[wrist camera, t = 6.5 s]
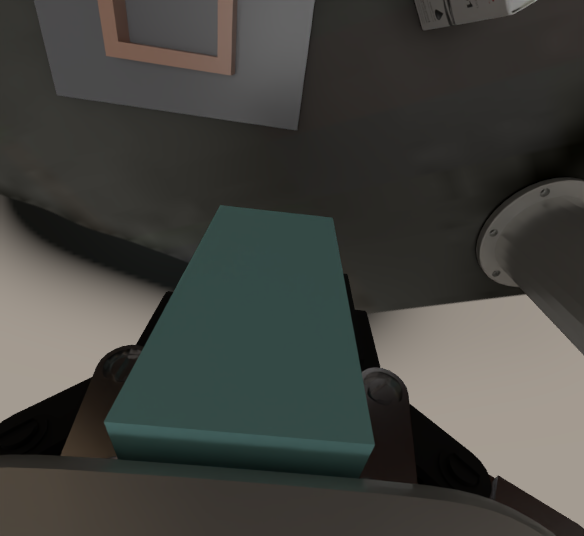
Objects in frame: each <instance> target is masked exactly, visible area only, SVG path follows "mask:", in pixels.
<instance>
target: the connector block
mask: <svg viewBox="0 0 584 536" xmlns="http://www.w3.org/2000/svg"><path fill="white" fill-rule="evenodd" d="M104 424H105V426H106V429H107V432H108V434H109V437H110V439H111V442H112V445H113V447H114V450H115V452H116V455H117V458H118V460H131V461H145V462H158V463H172V464H185V465H198V466H211V467H224V468H236V469H249V470H261V471H274V472H286V473H298V474H310V475H322V476H334V477H346V478H358V479H359V477H360V475H361V473H362V471H363V468H364V466H365V464H366V462H367V460H368V458H369V456H370V454H371V452H372V450H373V448H374V446H375V443H374V437H373V432H372V426H371V421H370V416H369V410H368V405H367V400H366V394H365V389H364V383H363V378H362V373H361V367H360V362H359V357H358V351H357V346H356V340H355V335H354V330H353V324H352V319H351V313H350V308H349V303H348V297H347V292H346V287H345V281H344V276H343V270H342V265H341V260H340V254H339V249H338V244H337V238H336V233H335V227H334V222H333V218H330V217H321V216H312V215H303V214H294V213H285V212H276V211H267V210H259V209H250V208H241V207H232V206H223V205H220V207H219V208H218V210H217V212H216V214H215V216H214V218H213V220H212V221H211V223H210V225H209V227H208V229H207V231H206V233H205V234H204V236H203V238H202V240H201V242H200V244H199V246H198V248H197V249H196V251H195V253H194V255H193V257H192V259H191V261H190V262H189V264H188V266H187V268H186V270H185V272H184V274H183V275H182V277H181V279H180V281H179V283H178V285H177V287H176V288H175V291H174V292H173V294H172V296H171V298H170V300H169V301H168V303H167V305H166V307H165V309H164V311H163V313H162V314H161V316H160V318H159V320H158V322H157V324H156V326H155V327H154V329H153V331H152V333H151V335H150V337H149V339H148V340H147V342H146V344H145V346H144V348H143V350H142V352H141V353H140V355H139V357H138V359H137V361H136V363H135V365H134V366H133V368H132V370H131V372H130V374H129V376H128V378H127V379H126V381H125V383H124V385H123V387H122V389H121V391H120V392H119V394H118V396H117V398H116V400H115V402H114V404H113V406H112V407H111V409H110V411H109V413H108V415H107V417H106V419H105V420H104Z"/></svg>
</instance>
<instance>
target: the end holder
mask: <svg viewBox="0 0 584 536" xmlns="http://www.w3.org/2000/svg"><path fill="white" fill-rule="evenodd" d="M34 2H35V7H36V11H37V15H38V19H39V23H40V27H41V31H42V35H43V40H44V44H45V48H46V52H47V56H48V60H49V64H50V69H51V73H52V77H53V81H54V85H55V89H56V93H57V95H59V96H66V97H73V98H80V99H87V100H93V101H100V102H107V103H114V104H121V105H127V106H134V107H141V108H148V109H154V110H161V111H168V112H175V113H182V114H188V115H195V116H202V117H209V118H216V119H222V120H229V121H236V122H243V123H249V124H256V125H263V126H270V127H277V128H283V129H290V130H297V127H298V120H299V113H300V105H301V98H302V91H303V83H304V76H305V69H306V61H307V54H308V47H309V39H310V32H311V25H312V17H313V10H314V3H315V0H34Z"/></svg>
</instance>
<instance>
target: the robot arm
mask: <svg viewBox="0 0 584 536" xmlns="http://www.w3.org/2000/svg"><path fill="white" fill-rule="evenodd" d="M476 256H477V260H478V263H479V265H480V267H481V268H482V270H483V271H484V272H485V273H486V274H487V276H488V277H489V278H491V279H492V280H494V281H496V282H497V283H500V284H503V285H506V286H513V287H520V288H521V289H522V290H523V291H524V292H525V294H526V295H527V296H528V297H529V298H530V299H531V300H532V301H533V302H534V303H535V304H536V305H537V306H538V307H539V308H540V309H541V310H542V311H543V313H544V314H545V315H546V316H547V317H548V318H549V319H550V320H551V321H552V322H553V323H554V324H555V325H556V326H557V327H558V328H559V329H560V330H561V332H562V333H563V334H565V336H566V337H567V338H568V339H569V340H570V341H571V342H572V343H573V344H574V345H575V346H576V347H577V348H578V350H579V351H580V352H581V353H583V355H584V180H582V179H577V178H570V177H565V178H554V179H549V180H544V181H541V182H538V183H536V184H533V185H530V186H528V187H526V188H524V189H523V190H521V191H519V192H517V193H515V194H514V195H513V196H511V197H510V198H508V199H507V200H506V201H504V202H503V203H502V204H501V205H500V206H499V207H498V208H497V209H496V210H495V211H494V212H493V213H492V214H491V216H490V217H489V218H488V219H487V221H486V223H485V224H484V226H483V228H482V229H481V231H480V234H479V237H478V240H477V246H476ZM343 276H344V281H345V287H346V292H347V297H348V303H349V308H350V313H351V319H352V324H353V330H354V335H355V340H356V346H357V351H358V357H359V362H360V367H361V373H362V378H363V383H364V389H365V394H366V400H367V405H368V410H369V416H370V421H371V426H372V432H373V437H374V443H375V446H374V448H373V450H372V452H371V454H370V456H369V458H368V460H367V462H366V464H365V466H364V468H363V471H362V473H361V475H360V477H359V479H358V478H346V477H334V476H322V475H310V474H298V473H286V472H274V471H261V470H249V469H236V468H224V467H211V466H198V465H185V464H172V463H158V462H145V461H131V460H118V458H117V455H116V452H115V450H114V447H113V445H112V442H111V439H110V437H109V434H108V432H107V429H106V426H105V424H104V420H105V419H106V417H107V415H108V413H109V411H110V409H111V407H112V406H113V404H114V402H115V400H116V398H117V396H118V394H119V392H120V391H121V389H122V387H123V385H124V383H125V381H126V379H127V378H128V376H129V374H130V372H131V370H132V368H133V366H134V365H135V363H136V361H137V359H138V357H139V355H140V353H141V352H142V350H143V348H144V346H145V344H146V342H147V340H148V339H149V337H150V335H151V333H152V331H153V329H154V327H155V326H156V324H157V322H158V320H159V318H160V316H161V314H162V313H163V311H164V309H165V307H166V305H167V303H168V301H169V300H170V298H171V296H172V294H173V292H170V291H168V292H166V294H165V295H164V296H163V298H162V300H161V302H160V304H159V305H158V307H157V309H156V310H155V312H154V314H153V316H152V318H151V319H150V321H149V323H148V325H147V326H146V328H145V330H144V332H143V333H142V335H141V337H140V339H139V341H138V342H137V344H136V345H127V346H122V347H120V348H117V349H114V350H113V351H111V352H109V353H107V354H106V355H105V356H104V357H103V358H102V359H101V360H100V362H99V363H98V365H97V367H96V369H95V372H94V374H93V377H91V378H89V379H87V380H85V381H83V382H81V383H79V384H77V385H75V386H72V387H70V388H68V389H66V390H64V391H62V392H60V393H58V394H56V395H54V396H52V397H50V398H47V399H45V400H43V401H41V402H39V403H37V404H35V405H33V406H31V407H29V408H27V409H25V410H22V411H20V412H18V413H16V414H14V415H12V416H11V417H9V418H7V419H6V420H4V421H2V422H1V423H0V536H584V529H583V528H582V527H581V526H580V525H578V524H577V523H575V522H574V521H572V520H570V519H569V518H567V517H565V516H564V515H562V514H561V513H559V512H557V511H556V510H554V509H552V508H550V507H549V506H547V505H546V504H544V503H542V502H541V501H539V500H538V499H536V498H534V497H533V496H531V495H529V494H528V493H526V492H524V491H523V490H521V489H519V488H518V487H516V486H515V485H513V484H511V483H510V482H508V481H506V480H504V479H503V478H502V477H500V476H497V477H496V478H494V477H492V476H490V475H489V474H488V472H487V470H486V469H485V467H484V466H483V464H482V463H481V461H480V460H479V459H478V458H477V457H476V456H474V454H473V453H471V452H470V451H469V450H468V449H466V448H465V447H463V446H462V445H461V444H460V443H459V442H457V441H456V440H455V439H454V438H452V437H451V436H450V435H449V434H447V433H446V432H445V431H444V430H442V429H441V428H440V427H438V426H437V425H436V424H435V423H433V422H432V421H431V420H430V419H428V418H427V417H426V416H425V415H423V414H422V413H421V412H419V411H418V410H417V409H415V408H414V407H413V406H412V405H411V404H409V396H408V392H407V388H406V386H405V384H404V383H403V381H402V380H401V379H400V378H399V377H398V376H397V375H396V374H394V373H392V372H391V371H389V370H386V369H383V368H380V364H379V361H378V356H377V352H376V349H375V344H374V340H373V336H372V332H371V328H370V324H369V320H368V317H367V313H366V312H365V311H361V310H355V309H354V304H353V299H352V294H351V289H350V284H349V279H348V275H347V274H343Z"/></svg>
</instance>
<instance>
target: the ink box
mask: <svg viewBox="0 0 584 536" xmlns="http://www.w3.org/2000/svg"><path fill="white" fill-rule="evenodd" d="M414 1H415V5H416V8H417V12H418V15H419V19H420V23H421V27H422V30H430V29H436V28H442V27H448V26H454V25H460V24H465V23H471V22H476V21H482V20H487V19H493V18H499V17H504V16H509V15H513V14H515V13H517V12H518V11H520V10H522V9H524V8H525V7H527V6H529V5H530V4H532V3H534V2H535V1H537V0H414Z"/></svg>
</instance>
